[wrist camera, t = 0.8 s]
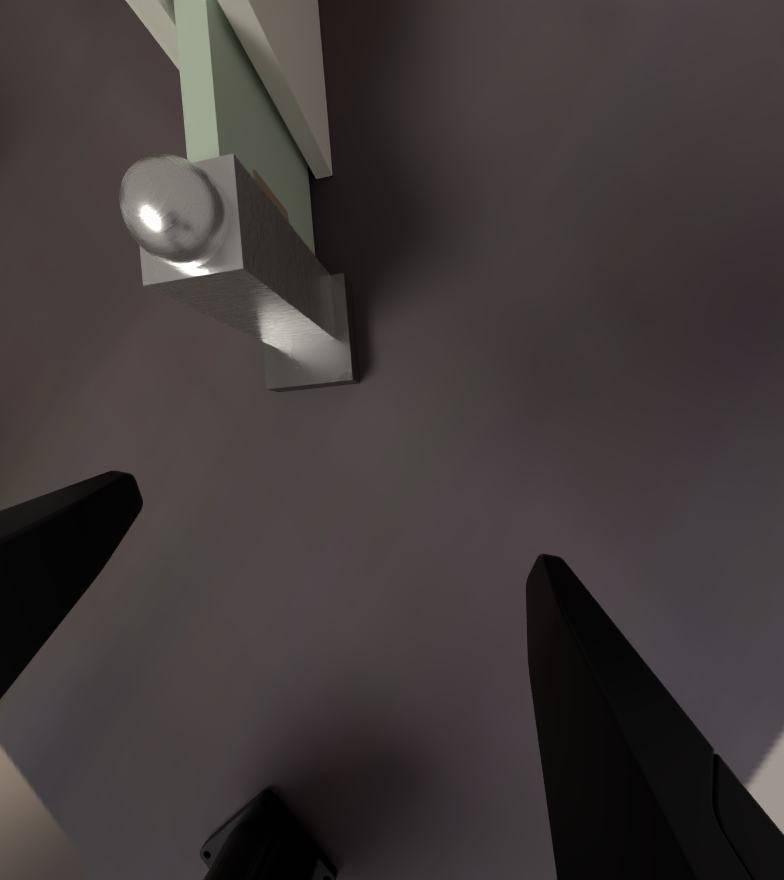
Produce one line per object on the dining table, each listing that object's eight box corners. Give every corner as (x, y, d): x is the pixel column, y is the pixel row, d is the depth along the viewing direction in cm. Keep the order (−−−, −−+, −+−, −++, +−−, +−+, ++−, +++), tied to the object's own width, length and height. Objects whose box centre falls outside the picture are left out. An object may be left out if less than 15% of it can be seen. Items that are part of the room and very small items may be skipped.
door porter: (359, 383, 22) (238, 321, 10) (278, 392, 23) (73, 345, 10) (351, 283, 22) (219, 95, 10) (270, 296, 23) (55, 137, 10)
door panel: (318, 280, 22) (223, 176, 13) (296, 284, 22) (187, 183, 13) (301, 71, 22) (192, -182, 13) (278, 77, 22) (156, -167, 13)
